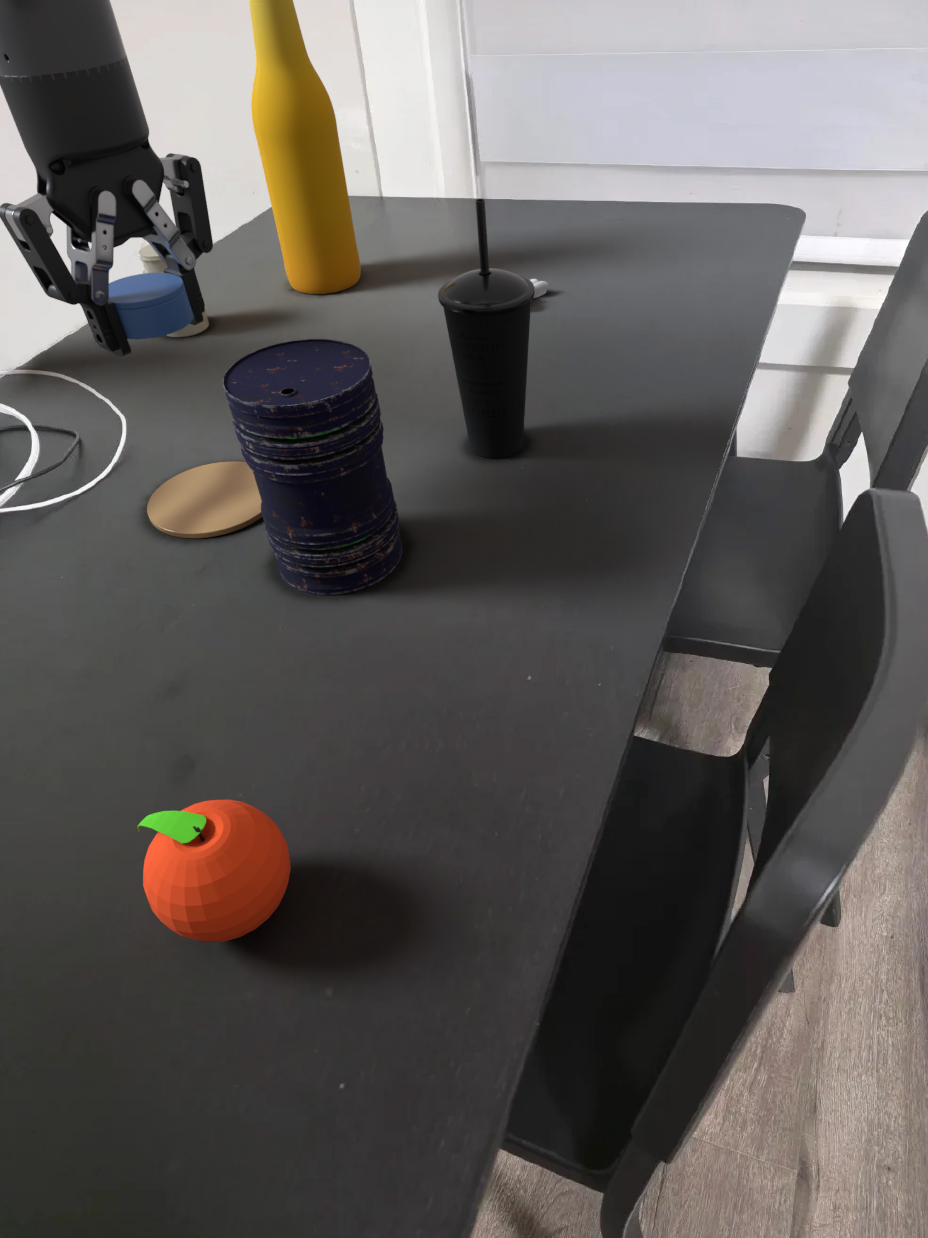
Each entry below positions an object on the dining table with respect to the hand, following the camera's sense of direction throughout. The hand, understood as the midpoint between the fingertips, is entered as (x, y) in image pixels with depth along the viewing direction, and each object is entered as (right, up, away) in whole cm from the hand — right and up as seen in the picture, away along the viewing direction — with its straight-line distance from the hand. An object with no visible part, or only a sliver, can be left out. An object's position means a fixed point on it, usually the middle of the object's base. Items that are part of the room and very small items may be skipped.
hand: (157, 336), depth 62 cm
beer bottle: (+3, +25, +45) cm, 51 cm away
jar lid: (0, +2, -2) cm, 3 cm away
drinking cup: (+25, -4, +14) cm, 29 cm away
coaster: (+1, -10, +10) cm, 14 cm away
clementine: (+11, -37, -17) cm, 42 cm away
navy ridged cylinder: (+13, -16, +4) cm, 21 cm away
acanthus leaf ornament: (+26, +19, +38) cm, 50 cm away
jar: (-12, +16, +37) cm, 42 cm away
